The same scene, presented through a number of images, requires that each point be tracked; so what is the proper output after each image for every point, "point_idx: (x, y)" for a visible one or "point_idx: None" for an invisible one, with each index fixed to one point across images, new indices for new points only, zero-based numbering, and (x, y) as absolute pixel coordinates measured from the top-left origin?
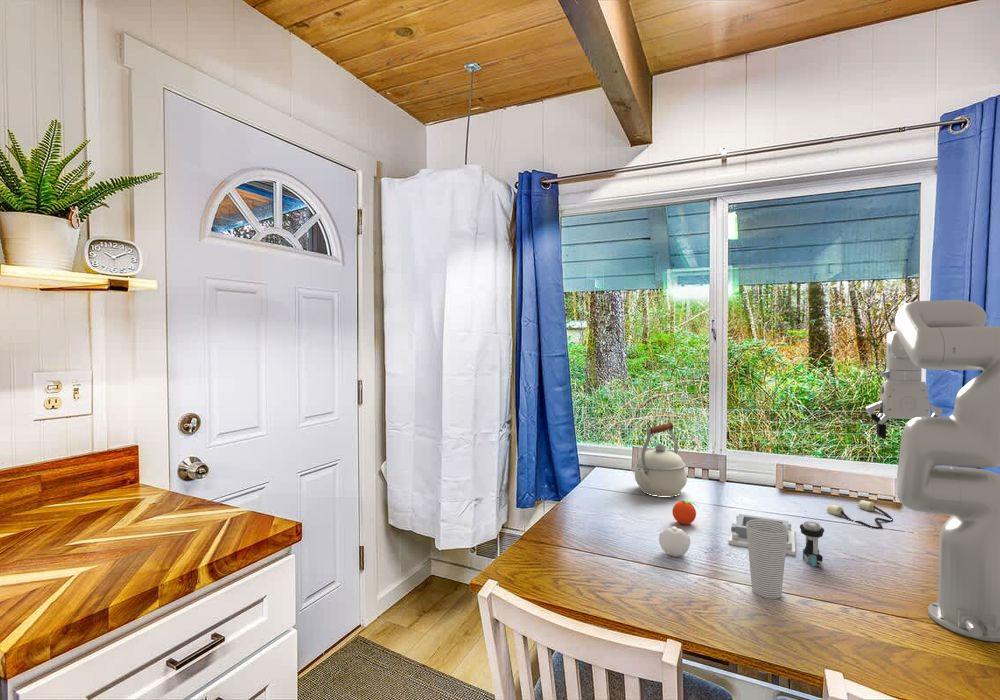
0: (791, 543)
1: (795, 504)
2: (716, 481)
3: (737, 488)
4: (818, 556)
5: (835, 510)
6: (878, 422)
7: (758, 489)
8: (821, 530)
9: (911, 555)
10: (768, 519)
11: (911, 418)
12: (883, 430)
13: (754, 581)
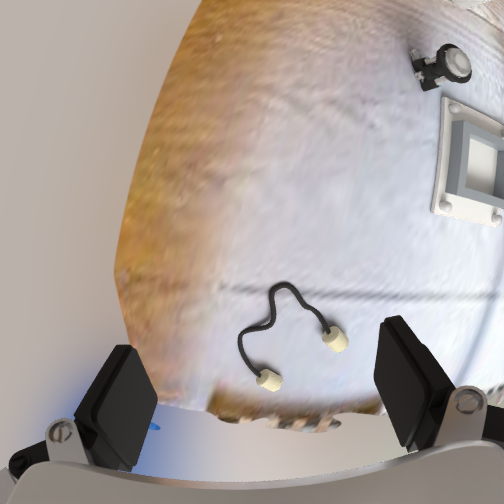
0: (454, 107)
1: None
2: None
3: None
4: (422, 58)
5: (340, 331)
6: (481, 393)
7: None
8: (443, 51)
9: (255, 155)
10: (479, 194)
11: (190, 483)
12: (425, 349)
13: None
